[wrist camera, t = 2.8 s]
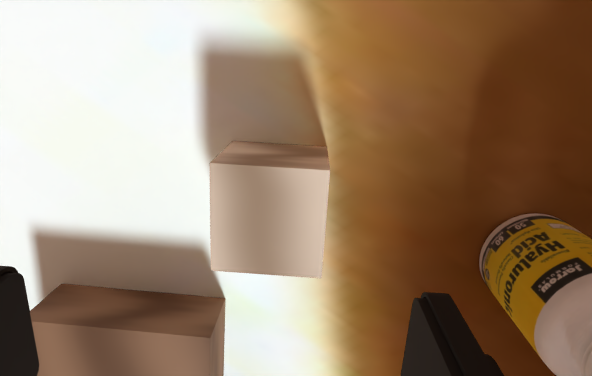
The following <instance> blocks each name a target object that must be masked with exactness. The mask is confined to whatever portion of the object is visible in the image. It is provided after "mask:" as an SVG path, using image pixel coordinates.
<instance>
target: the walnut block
mask: <svg viewBox="0 0 592 376" xmlns="http://www.w3.org/2000/svg"><path fill="white" fill-rule="evenodd" d="M30 316H31V321H32V326H33V332H34V337H35V343H36V348H37V354H38V359H39V371H38V374H37V376H223V370H224V332H225V298H215V297H204V296H193V295H182V294H171V293H160V292H149V291H137V290H126V289H115V288H104V287H93V286H82V285H71V284H61V285H60V286H58V287H57V288H56V289H55V290H54V291H53V292H52V293H50V294H49V295H48V296H47V297H46V298H45V299H44V300H42V301H41V302H40V303H39V304H38V305H37V306H35V307H34V308H33V309H32V310H31V311H30Z"/></svg>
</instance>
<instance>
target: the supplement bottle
mask: <svg viewBox="0 0 592 376" xmlns="http://www.w3.org/2000/svg"><path fill="white" fill-rule="evenodd" d="M479 267H480V272H481V275H482V278H483V280H484V282H485V283H486V285H487V286H488V288H489V289H490V291H491V292H492V293H493V295H494V296H495V298H496V299H497V300H498V302H499V303H500V304H501V306H502V307H503V308H504V310H505V311H506V312H507V314H508V315H509V316H510V318H511V319H512V320H513V322H514V323H515V324H516V326H517V327H518V328H519V330H520V331H521V333H522V334H523V335H524V337H525V338H526V339H527V341H528V342H529V343H530V345H531V346H532V347H533V349H534V350H535V352H536V353H537V354H538V356H539V357H540V358H541V359H542V361H543V362H544V363H545V364H546V365H547V367H548V368H549V369H550V370H551V371H552V372H553V373H554V374H555V375H556V376H592V239H591V238H589V237H588V236H586V235H585V234H583V233H582V232H580V231H579V230H577V229H576V228H574V227H573V226H571V225H570V224H568V223H566V222H565V221H563V220H561V219H559V218H556V217H554V216H550V215H546V214H537V213H533V214H524V215H520V216H517V217H514V218H511V219H509V220H507V221H505V222H504V223H502V224H501V225H499V226H498V227H497V228H496V229H495V230H494V231H493V232H492V233H491V234H490V235H489V236H488V238H487V239H486V241H485V243H484V245H483V247H482V249H481V253H480V258H479Z"/></svg>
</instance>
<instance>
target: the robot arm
mask: <svg viewBox="0 0 592 376" xmlns="http://www.w3.org/2000/svg"><path fill="white" fill-rule="evenodd" d="M38 371H39V359H38V354H37V348H36V343H35V337H34V332H33V326H32V321H31V316H30V310H29V305H28V299H27V294H26V288H25V283H24V278H23V276H22V275H21V274H19V273H18V271H17V270H16V269H15V268H14V267H10V266H0V376H37V374H38ZM401 376H504V375H503V373H502V371H501V370H500V368H499V366H498V365H497V363H496V362H495V360H494V359H493V358H492V357H491V356H489V355H488V354H484V353H483V351H482V349H481V347H480V346H479V344H478V342H477V341H476V339H475V337H474V335H473V334H472V332H471V330H470V329H469V327H468V325H467V324H466V322H465V320H464V318H463V317H462V315H461V313H460V312H459V310H458V308H457V306H456V305H455V303H454V301H453V300H452V298H451V296H450V295H449V294H445V293H429V292H424V293H422V295H421V298H415V299H414V300H413V304H412V310H411V316H410V322H409V328H408V334H407V340H406V346H405V352H404V358H403V364H402V370H401Z"/></svg>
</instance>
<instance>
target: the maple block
mask: <svg viewBox="0 0 592 376" xmlns="http://www.w3.org/2000/svg"><path fill="white" fill-rule="evenodd" d="M329 178H330V166H329V158H328V151H327V147H324V146H307V145H291V144H274V143H257V142H241V141H232V142H231V143H230V144H229V145H228V146H227V147H226V148H225V149H224V150H223V151H222V152H221V153H220V154H219V155H217V156H216V157H215V158H214V159H213V160H212V161H211V162H210V239H211V271H225V272H239V273H253V274H268V275H282V276H296V277H310V278H322V266H323V253H324V241H325V228H326V216H327V203H328V191H329Z"/></svg>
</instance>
